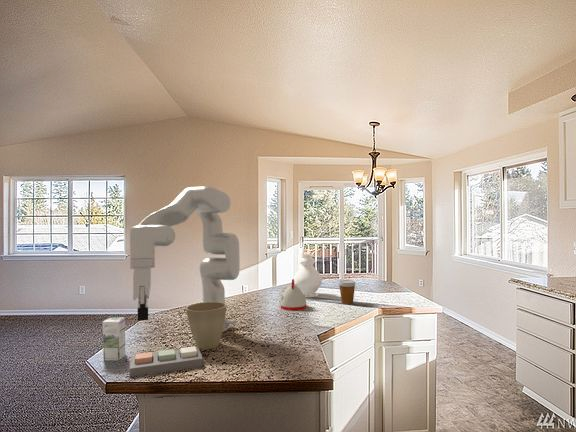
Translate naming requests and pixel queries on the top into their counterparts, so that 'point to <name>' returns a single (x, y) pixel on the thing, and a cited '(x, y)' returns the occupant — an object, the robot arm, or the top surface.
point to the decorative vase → (308, 277)
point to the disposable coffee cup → (347, 291)
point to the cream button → (188, 352)
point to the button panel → (165, 364)
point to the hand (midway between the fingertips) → (143, 319)
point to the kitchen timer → (293, 298)
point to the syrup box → (114, 338)
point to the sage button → (166, 355)
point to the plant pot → (206, 323)
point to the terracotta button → (143, 358)
